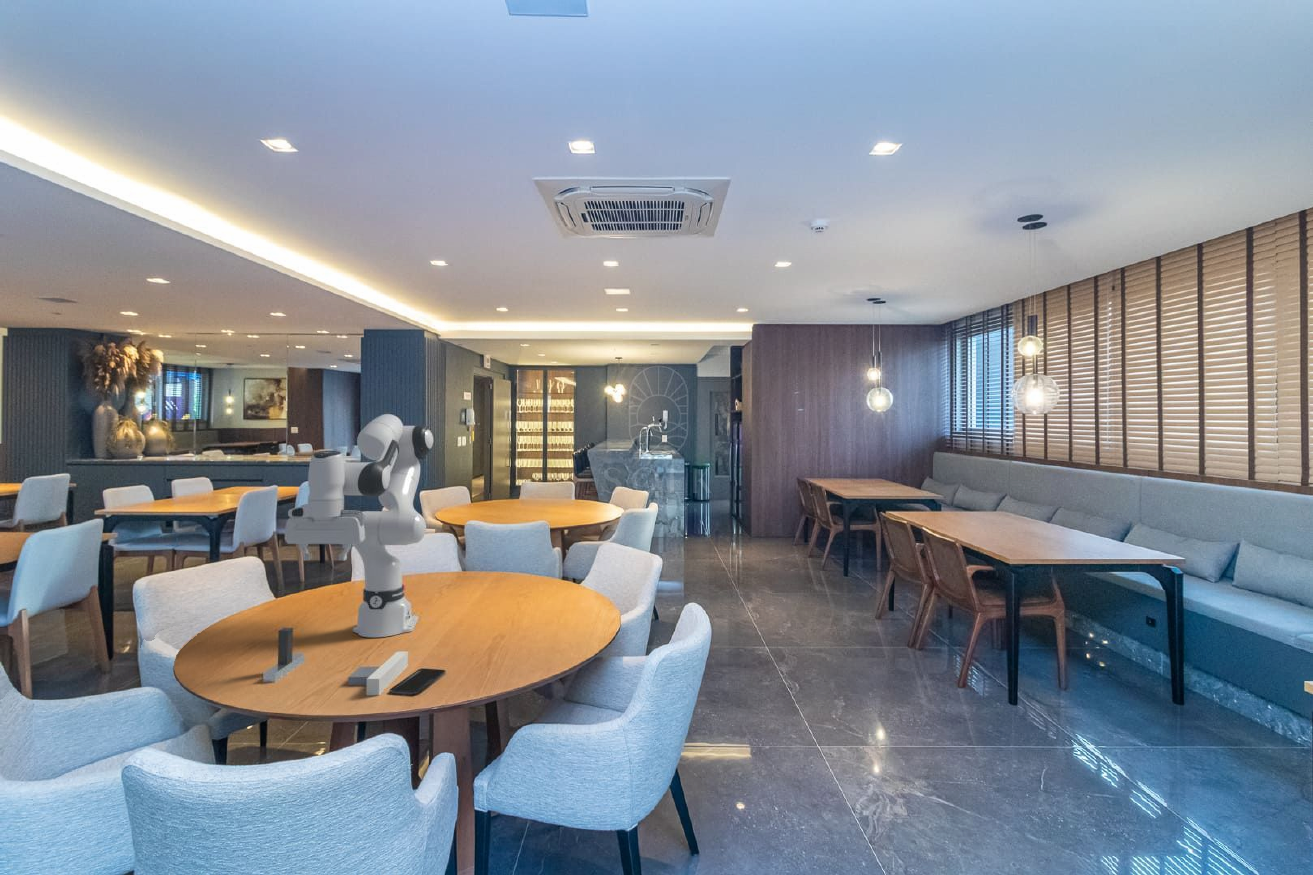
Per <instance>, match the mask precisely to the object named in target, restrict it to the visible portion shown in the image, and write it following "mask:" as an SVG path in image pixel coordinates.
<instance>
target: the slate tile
mask: <svg viewBox="0 0 1313 875" xmlns="http://www.w3.org/2000/svg"><path fill="white" fill-rule="evenodd" d="M379 667H380V666H359V667H358V668H357V669H356V670H354V671H353V672H352V673H351V674H350V675H349V676H348V678H347V679H348V680H347V686H348V685H349V686H367V678H368V677H369V676H371V675H372V674H373V673H374V672H375V671H376V670H377V669H378V668H379Z"/></svg>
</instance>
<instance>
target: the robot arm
mask: <svg viewBox="0 0 1313 875" xmlns="http://www.w3.org/2000/svg"><path fill="white" fill-rule="evenodd" d="M434 441H435V440H434V435H433V432H432V430H431V429H430V427H428V426H426V425H420V424H416V425H404V424H403V422H402V420H401V418H399V417H398V416H396V415H394V414H392V413H391V414H390V413H384V414H381V415H379V416H377V417H375V418H374V419H372V420H371V421H370V422H368V424H366V426H364V427H363V428H362V429H361V431H360V432H359V433H358V435H357V438H356V444H357V448H358V450H359V452H360V453H361V454H362V455H363V456H364V457H365V458H367V459H369V460H372V461H370V462H369V461H368V462H366V461H365V462H360V461H359V462H356V461H347V460H344V456H343V452H341V451H338V450H321V451H317V452H315V453H313V454H312V455H311V458H310V461H309V467H308V476H307V484H308V488H309V493H308V496H307V503H306V504H302V505H301V506H298V507H294V508H291V509H288V511H287V515H288V517H289V518H288V519H287V520H286V522H285V528H284V541H285V542H286V544H288V545H289V544H290V545H298V549H299V550H300V553H302V559H303V561H311V560H312V558H313V553H312V552H309V549H308V548H307V547H309V545H342V549H343V550H342V552H341V553H338V556H337V557H338V561H347V558H348V553H349V551H350V550H351V548H352V546H353V548H355V550H356V551H357V553H358V554H359V556H360V557H361V561H362V563H363V568H364V569H363V570H364V588H363V589H362V601H363V602H362V603H361V604H360V605H359V606H358V612H357V623H356V626H355V627H353V628H352V632H354V633H356V634H358V635H359V636H360V637H364V638H384V637H385V638H387V637H390V636H391V637H392V636H396V635H399V634H402V633H409V632H413V630H414V629H415V626H416V624H417V622H418V621H419V616H418V615H414V614H412V603H411V602H410V601H408V600H407V598H406V597H405V590H406V588H407V584H406V583H403V564H402V561H401V560H400V559H399V558H397V557H396V556H394V555H392V554H390V552H389V551H388V550H387V548H386V546H408V545H413V544H417V543H420V541H422V539H423V538H424V536H425V535H426V532H427V523H426V520H425V519H424V517H423V515H422V514H420V513H419V512H418V511H417V510H416V509H415V508H414V499H415V495H416V492H417V490H418V489H417V488H418V486H419V481H420V477H421V464H420V461H423V460H425V459H426V457H427V456H428V455H429V454H430V453H431V451H432V449H433V447H434ZM345 496H365V497H372V498H373V497H374V498H378V501H379V503H380V504H381V506H382V507H384V509H386V510H385V511H383V510H379V511H378V510H376V511H374V510H373V511H371V510H370V511H369V510H368V511H367V510H365V511H360V510H357V509H354V510H352V509H351V510H350V509H345Z"/></svg>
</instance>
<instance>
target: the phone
mask: <svg viewBox="0 0 1313 875" xmlns="http://www.w3.org/2000/svg"><path fill="white" fill-rule="evenodd" d="M446 673H447V672H446V670H445V669H436V668H427V667H426V668H423V667H422V668H419V669H417V670H415V671H414V672H413V673H411V674H409V676H407V677H406V678H404V679H402V680H401V681H400V682H398V683H397V684H395V685H394V686H392V687H391V688H390V689H389V694H390V695H396V696H411V697H417V696H419V695H420V694H422V693H424V691H426V690H427V689H428V688H430V687H431V686H433V685H434V684H435V683H436V682H438V681H439V680H441V679H442V677H444V676H446Z"/></svg>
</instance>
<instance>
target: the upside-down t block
mask: <svg viewBox="0 0 1313 875" xmlns="http://www.w3.org/2000/svg"><path fill="white" fill-rule="evenodd" d="M293 630H294V628H293V627H283V628H280V629H279V630H278V631H277V633H278V637H277V638H278V641H277V663H276V665H274V666H272V667H270V668H269V669H268V670H265V671H264V672H263V673H262V674H263V675H262V676H263V677H262V678H263V680H262V683H277V682H278V681H279V680H281V679H282V678H283V677H285V676H287V675H288V674H289V673H291V672H292V671H294V670H296V669H297V668H298V667H300V666H302V665H303V664H304V663H306V662H305V661H306V653H293V646H294V645H293V641H294V640H293V638H294V636H293V634H294V631H293Z"/></svg>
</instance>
